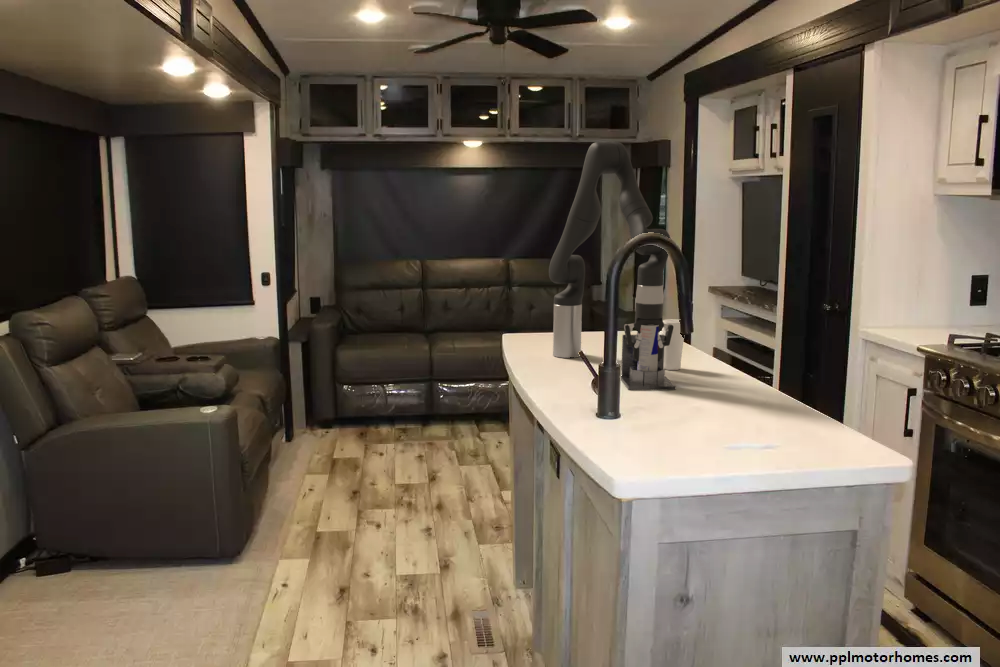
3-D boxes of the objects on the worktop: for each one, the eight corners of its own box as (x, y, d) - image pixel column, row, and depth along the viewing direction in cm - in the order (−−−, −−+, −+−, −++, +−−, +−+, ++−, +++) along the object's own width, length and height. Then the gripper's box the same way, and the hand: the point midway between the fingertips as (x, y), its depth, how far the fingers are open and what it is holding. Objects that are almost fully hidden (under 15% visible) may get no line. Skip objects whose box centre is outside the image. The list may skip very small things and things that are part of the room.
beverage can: (656, 378, 229) (659, 325, 226) (636, 377, 230) (638, 325, 227) (657, 374, 234) (659, 322, 232) (637, 373, 235) (639, 321, 233)
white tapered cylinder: (681, 366, 256) (683, 319, 253) (684, 371, 249) (686, 322, 246) (659, 366, 256) (661, 318, 254) (661, 370, 250) (663, 322, 247)
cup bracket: (619, 378, 239) (620, 334, 237) (663, 378, 240) (665, 334, 237) (628, 390, 225) (630, 343, 223) (675, 389, 226) (677, 343, 224)
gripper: (671, 299, 232) (669, 357, 235) (621, 299, 232) (619, 357, 235) (678, 303, 225) (675, 363, 228) (626, 302, 225) (624, 363, 227)
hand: (647, 360), depth 231 cm, fingers closed on beverage can, 5 cm apart
